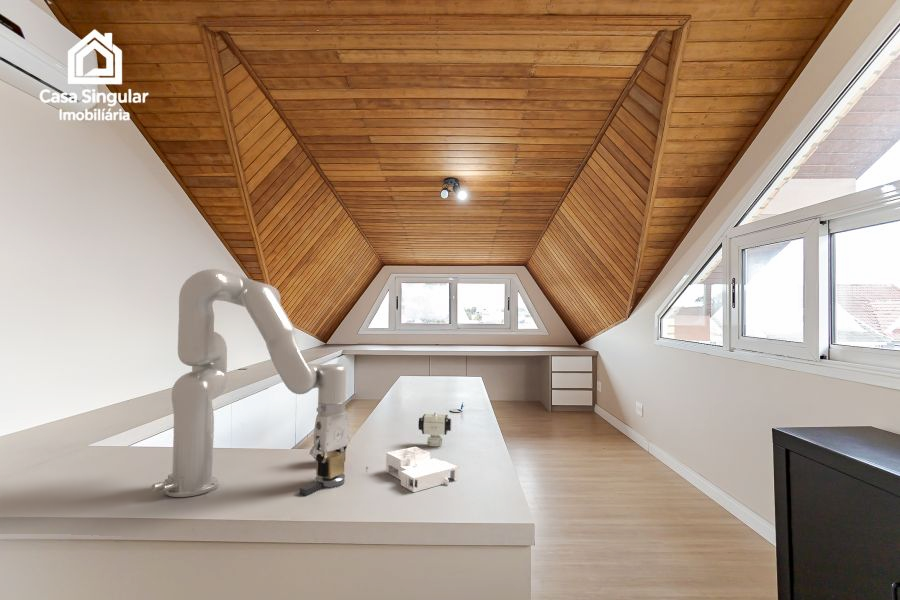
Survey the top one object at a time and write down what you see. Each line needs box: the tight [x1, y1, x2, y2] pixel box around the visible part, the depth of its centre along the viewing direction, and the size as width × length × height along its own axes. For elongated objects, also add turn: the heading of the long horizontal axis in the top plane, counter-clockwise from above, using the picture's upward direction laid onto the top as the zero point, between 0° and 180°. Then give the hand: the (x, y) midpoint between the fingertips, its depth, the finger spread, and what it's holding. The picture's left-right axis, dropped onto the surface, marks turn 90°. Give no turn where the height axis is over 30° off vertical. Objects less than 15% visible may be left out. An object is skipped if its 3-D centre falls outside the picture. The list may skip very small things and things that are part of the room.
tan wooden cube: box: [315, 451, 346, 479], centre depth 125 cm, size 5×5×6 cm
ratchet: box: [299, 473, 346, 497], centre depth 123 cm, size 14×8×5 cm, turn 151°
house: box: [365, 446, 458, 493], centre depth 130 cm, size 22×18×6 cm
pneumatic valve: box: [418, 412, 452, 448], centre depth 162 cm, size 6×12×12 cm, turn 85°
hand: (330, 472), depth 125 cm, fingers closed on tan wooden cube, 5 cm apart
